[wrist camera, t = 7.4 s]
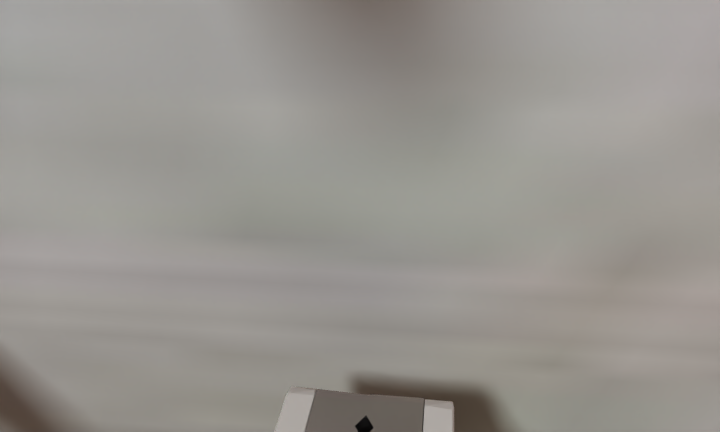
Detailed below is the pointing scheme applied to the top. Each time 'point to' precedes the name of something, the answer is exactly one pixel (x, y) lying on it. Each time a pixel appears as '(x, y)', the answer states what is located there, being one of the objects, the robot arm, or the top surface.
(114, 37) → the top surface
